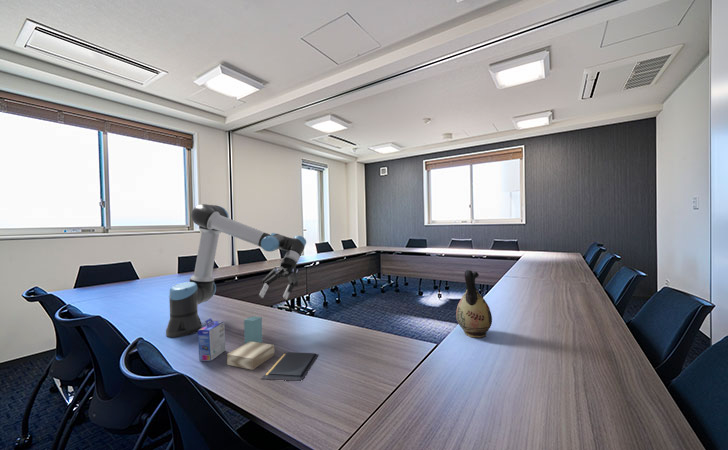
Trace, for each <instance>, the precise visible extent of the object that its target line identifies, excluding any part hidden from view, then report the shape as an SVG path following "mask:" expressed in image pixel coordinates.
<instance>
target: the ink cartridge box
mask: <svg viewBox="0 0 728 450" xmlns="http://www.w3.org/2000/svg"><path fill="white" fill-rule="evenodd" d="M204 322H205V326H202V328H201V329H199V330H198V332H197V341H198V357H199V361H200V362H211V361H213V360H215V358H217V357H218V356H220V355H221V354H222V353H223V352H225V351H226V350H227V349H226V331H225V321H219V320H218V321H217V320H215V321H213V319H212V318H208V319H207V320H205V321H204Z"/></svg>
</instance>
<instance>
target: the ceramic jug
mask: <svg viewBox="0 0 728 450" xmlns="http://www.w3.org/2000/svg"><path fill="white" fill-rule="evenodd" d="M478 277H479V273H478V272H477V271H472V270H471V269H466V270H465V271H464V280H465V286H466V291H465V292H464V293H463V295H462V297H461V298H460V300H459V302H458V304H457V307H456V311H455V312H456V313H455V318H456V321H457V324H458V326H459V327H460V328H461V329H462V331H463V332H464V334H465V335H466V336H468V337H470V338H485V337H486V336H487V332H488V331H489V330H490V329H491V326H492V323H493V317H492V312H491V308H490V306H489V304H488V303H487V301H486V300H485V298H484V296H482V294H481V293H480V292H479V291H478V289H477V288H476V278H478ZM484 336H485V337H484Z"/></svg>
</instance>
